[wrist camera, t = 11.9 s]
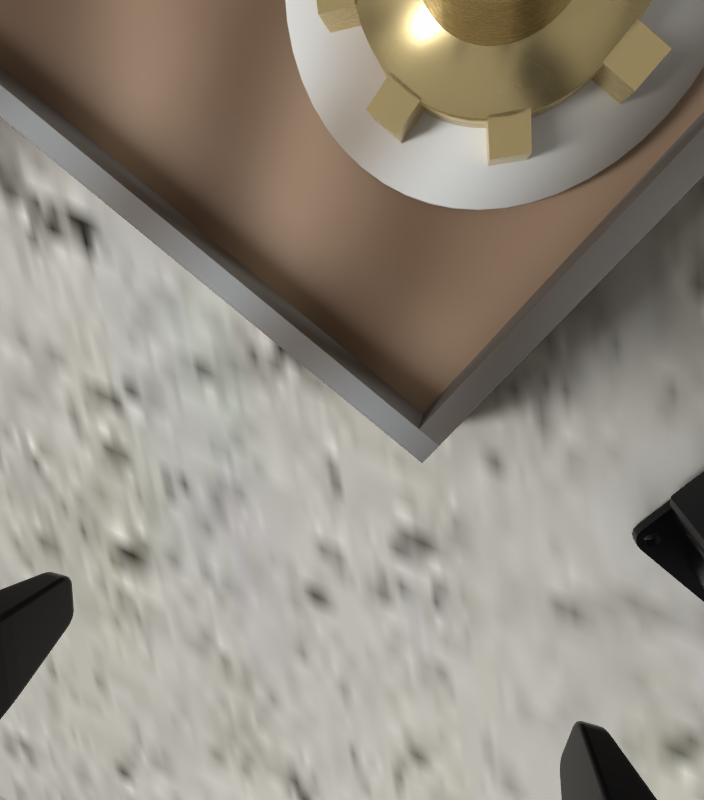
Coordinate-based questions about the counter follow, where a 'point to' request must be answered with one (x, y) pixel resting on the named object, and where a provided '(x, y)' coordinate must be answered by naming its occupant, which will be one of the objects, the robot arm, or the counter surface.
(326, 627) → the counter surface
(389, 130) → the gear
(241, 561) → the counter surface
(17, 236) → the counter surface
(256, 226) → the wooden serving tray
